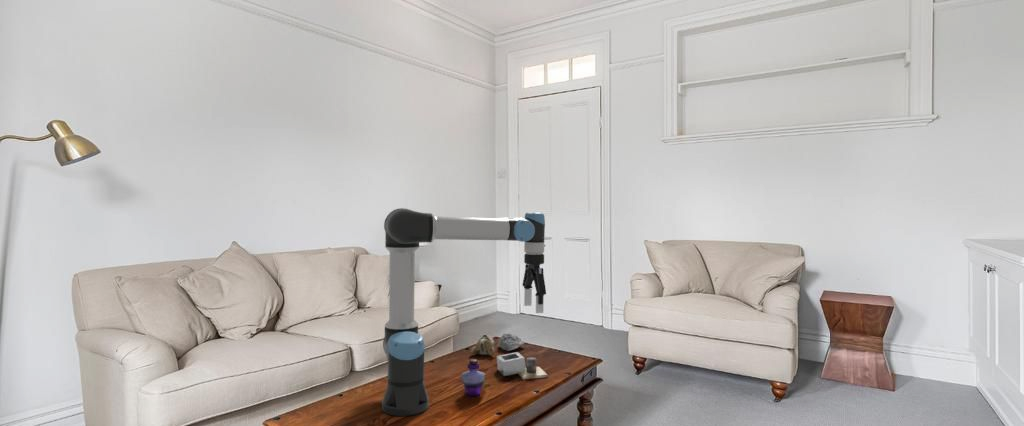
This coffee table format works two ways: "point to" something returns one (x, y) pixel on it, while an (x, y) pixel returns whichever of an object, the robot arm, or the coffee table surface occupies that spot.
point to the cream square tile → (532, 370)
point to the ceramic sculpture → (484, 346)
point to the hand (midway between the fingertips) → (533, 309)
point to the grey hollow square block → (511, 363)
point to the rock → (510, 342)
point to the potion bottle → (473, 379)
